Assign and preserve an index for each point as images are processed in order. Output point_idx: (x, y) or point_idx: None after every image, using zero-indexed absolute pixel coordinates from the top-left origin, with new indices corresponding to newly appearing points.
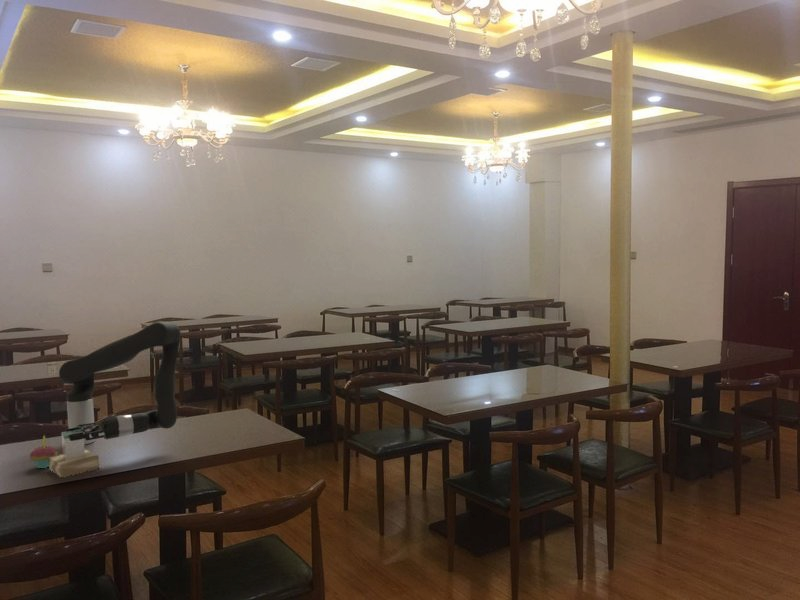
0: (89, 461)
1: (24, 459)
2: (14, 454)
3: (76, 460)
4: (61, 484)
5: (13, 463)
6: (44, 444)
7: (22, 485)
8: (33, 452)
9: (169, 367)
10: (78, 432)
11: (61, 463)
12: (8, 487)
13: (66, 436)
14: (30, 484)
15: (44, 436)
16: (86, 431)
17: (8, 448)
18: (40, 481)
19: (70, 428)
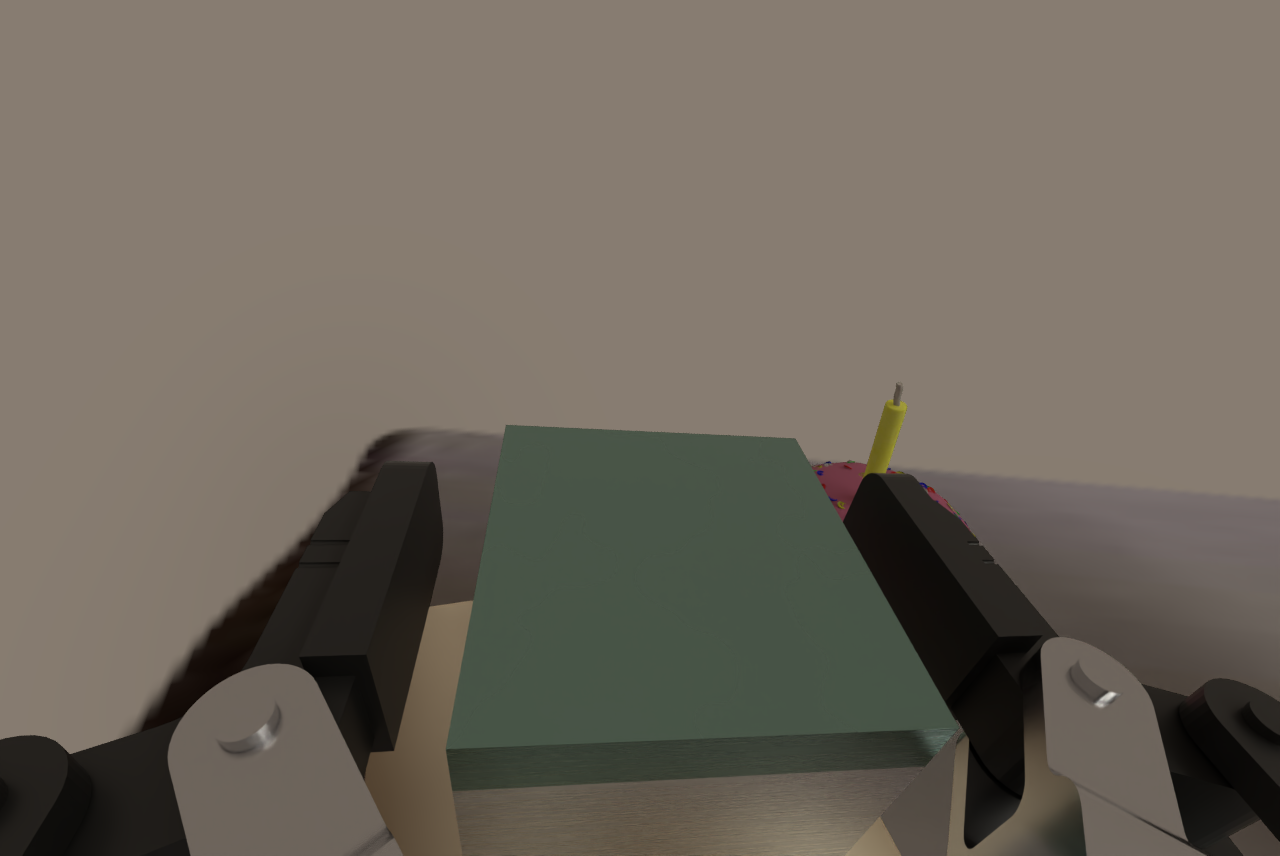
0: None
1: (1040, 539)
2: (1149, 513)
3: (402, 791)
4: (207, 668)
5: (958, 493)
6: (867, 473)
7: (473, 482)
8: (826, 463)
9: None
10: (590, 634)
11: (431, 621)
12: (499, 440)
13: (503, 459)
14: (452, 511)
15: (892, 405)
16: (258, 813)
17: (1270, 504)
18: (464, 558)
19: (933, 524)
